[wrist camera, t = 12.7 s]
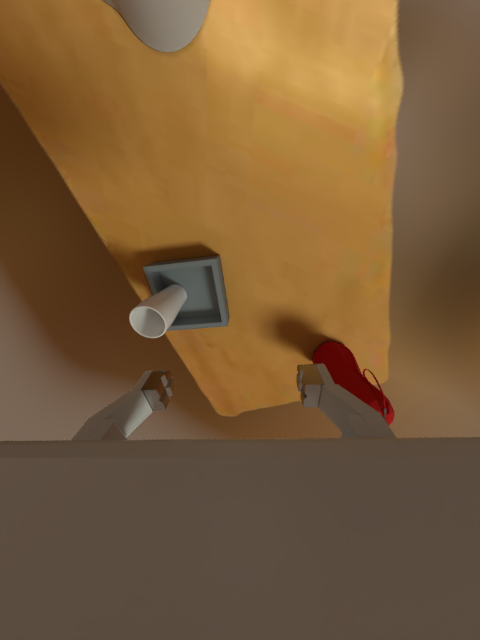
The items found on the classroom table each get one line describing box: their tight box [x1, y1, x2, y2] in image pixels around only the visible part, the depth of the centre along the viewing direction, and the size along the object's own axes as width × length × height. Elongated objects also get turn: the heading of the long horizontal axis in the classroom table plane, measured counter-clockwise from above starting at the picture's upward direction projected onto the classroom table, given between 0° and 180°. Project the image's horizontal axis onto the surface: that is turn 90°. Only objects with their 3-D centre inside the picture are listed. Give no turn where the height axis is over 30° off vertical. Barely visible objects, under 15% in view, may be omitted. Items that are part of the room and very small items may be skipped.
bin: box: [143, 255, 229, 331], centre depth 44 cm, size 16×16×5 cm
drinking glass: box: [129, 284, 187, 338], centre depth 39 cm, size 7×7×15 cm
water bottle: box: [312, 341, 394, 426], centre depth 42 cm, size 9×11×25 cm
